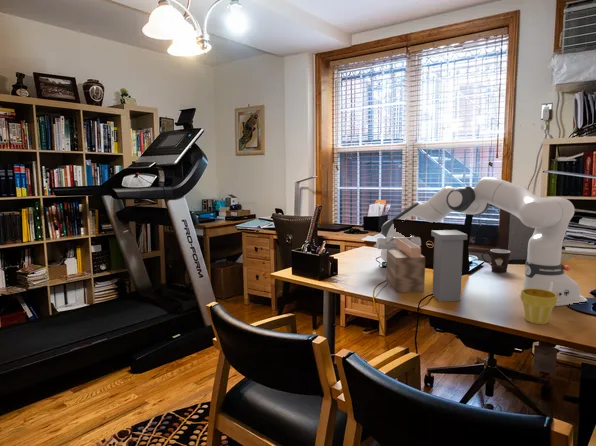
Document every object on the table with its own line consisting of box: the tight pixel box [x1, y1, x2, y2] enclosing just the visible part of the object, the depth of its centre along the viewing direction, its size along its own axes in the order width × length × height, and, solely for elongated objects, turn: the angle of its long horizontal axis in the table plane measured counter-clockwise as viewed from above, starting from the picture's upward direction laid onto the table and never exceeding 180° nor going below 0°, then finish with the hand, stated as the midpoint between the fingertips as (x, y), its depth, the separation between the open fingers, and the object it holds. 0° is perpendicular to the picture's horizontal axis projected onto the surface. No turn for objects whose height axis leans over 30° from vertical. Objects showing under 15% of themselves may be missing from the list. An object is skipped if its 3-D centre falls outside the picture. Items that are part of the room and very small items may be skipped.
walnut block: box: [385, 250, 426, 293], centre depth 178 cm, size 12×15×14 cm
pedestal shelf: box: [430, 229, 468, 302], centre depth 162 cm, size 10×10×26 cm
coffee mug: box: [481, 248, 511, 274], centre depth 201 cm, size 12×9×10 cm
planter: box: [396, 238, 422, 258], centre depth 179 cm, size 4×22×4 cm, turn 2°
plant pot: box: [520, 288, 557, 325], centre depth 139 cm, size 10×10×10 cm
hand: (402, 237), depth 187 cm, fingers open, 8 cm apart
